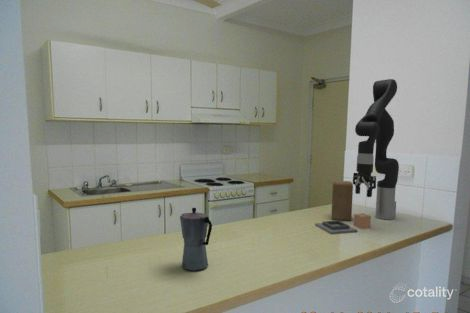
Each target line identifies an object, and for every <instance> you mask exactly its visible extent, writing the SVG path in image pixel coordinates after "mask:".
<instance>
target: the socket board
mask: <svg viewBox="0 0 470 313" xmlns="http://www.w3.org/2000/svg"><path fill="white" fill-rule="evenodd" d="M314 225H315V226H316V227H317V228H320V229H322V230H323V231H324V232H326V233H328V234H330V235H338V234H350V233H351V234H352V233H358V229H355V228H354V227H352V226H350V225H349V224H347V223H345V222H344V221H342V220H326V221H325V220H324V221H322V222H317V223H315V224H314Z"/></svg>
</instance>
